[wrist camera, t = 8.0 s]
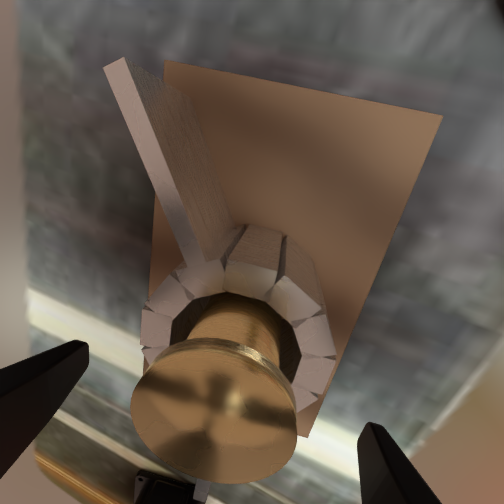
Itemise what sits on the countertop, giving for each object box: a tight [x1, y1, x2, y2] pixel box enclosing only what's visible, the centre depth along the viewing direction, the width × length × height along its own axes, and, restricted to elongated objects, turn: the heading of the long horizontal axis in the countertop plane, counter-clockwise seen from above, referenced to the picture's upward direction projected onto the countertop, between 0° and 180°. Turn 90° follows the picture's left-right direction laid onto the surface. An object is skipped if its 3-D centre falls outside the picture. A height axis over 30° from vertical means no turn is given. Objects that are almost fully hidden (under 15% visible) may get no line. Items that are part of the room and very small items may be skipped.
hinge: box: [103, 57, 337, 503], centre depth 12 cm, size 19×9×5 cm, turn 168°
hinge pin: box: [130, 291, 297, 484], centre depth 11 cm, size 5×5×8 cm
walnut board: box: [143, 60, 443, 438], centre depth 15 cm, size 20×12×1 cm, turn 168°
